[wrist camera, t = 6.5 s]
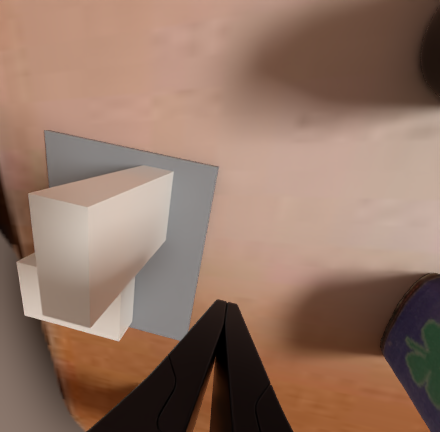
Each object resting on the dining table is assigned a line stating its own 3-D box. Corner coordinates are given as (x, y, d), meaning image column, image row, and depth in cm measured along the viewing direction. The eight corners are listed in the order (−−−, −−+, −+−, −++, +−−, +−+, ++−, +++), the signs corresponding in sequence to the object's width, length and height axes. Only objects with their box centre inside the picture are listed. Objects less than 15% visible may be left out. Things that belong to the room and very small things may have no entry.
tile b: (165, 240, 19) (90, 328, 10) (138, 233, 19) (40, 314, 10) (173, 171, 17) (87, 207, 8) (142, 164, 17) (25, 192, 8)
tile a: (119, 341, 20) (24, 315, 21) (132, 320, 23) (47, 297, 23) (121, 288, 18) (16, 261, 19) (136, 271, 21) (42, 248, 21)
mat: (186, 338, 23) (185, 342, 23) (63, 304, 24) (59, 307, 24) (218, 166, 17) (217, 167, 16) (49, 130, 18) (44, 130, 17)
